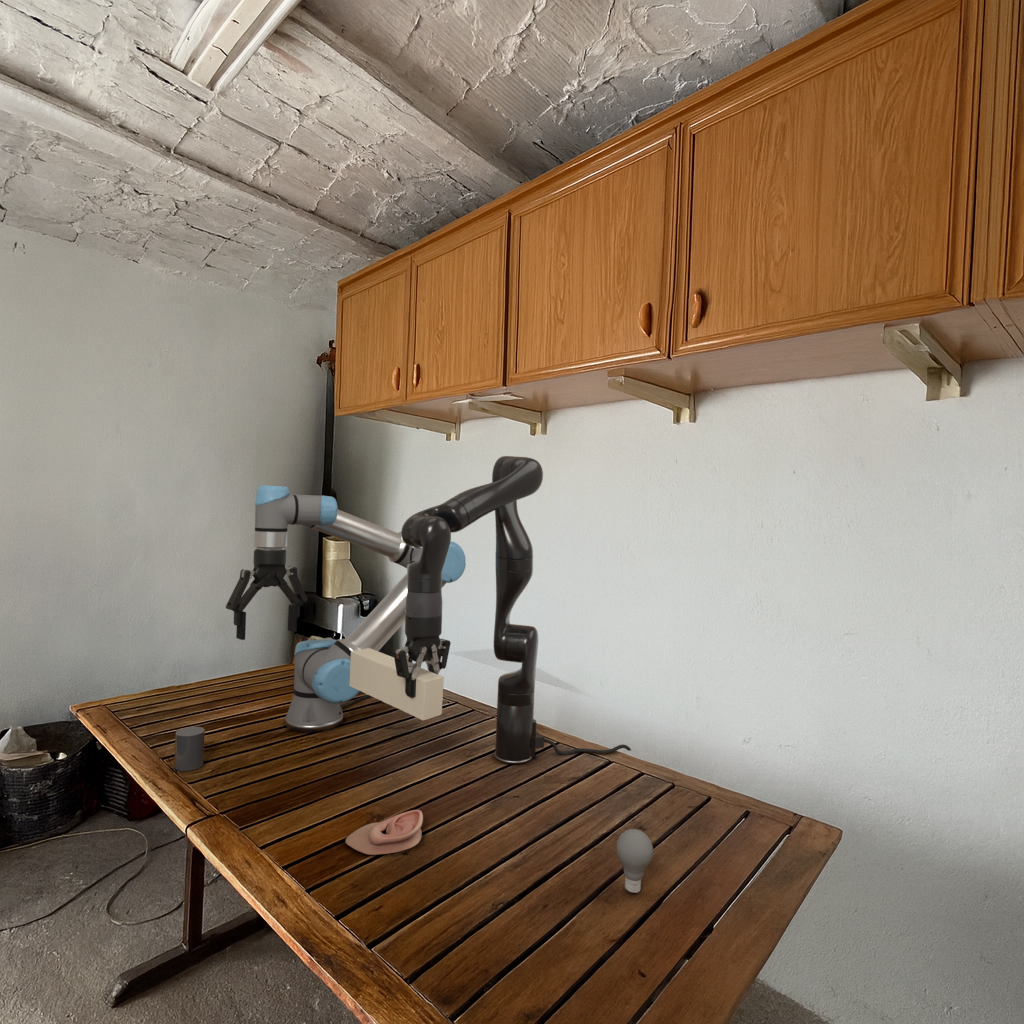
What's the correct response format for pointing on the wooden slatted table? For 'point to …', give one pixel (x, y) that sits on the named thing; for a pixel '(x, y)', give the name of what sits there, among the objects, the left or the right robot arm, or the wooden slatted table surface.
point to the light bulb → (634, 857)
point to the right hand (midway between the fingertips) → (421, 693)
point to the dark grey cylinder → (189, 748)
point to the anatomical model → (388, 834)
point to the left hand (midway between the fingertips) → (267, 635)
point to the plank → (395, 684)
